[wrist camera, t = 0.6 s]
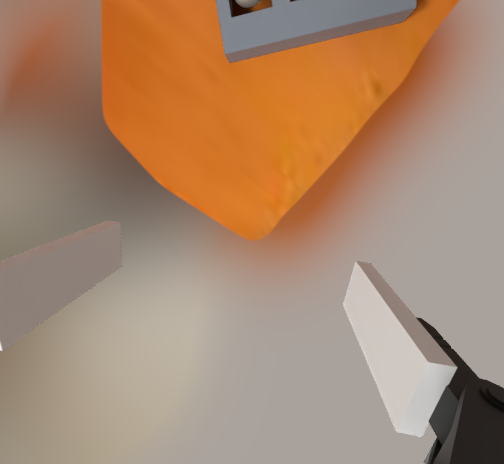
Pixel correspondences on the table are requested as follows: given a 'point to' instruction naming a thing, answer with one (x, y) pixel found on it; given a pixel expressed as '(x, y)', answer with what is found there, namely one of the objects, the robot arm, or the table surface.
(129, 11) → the table surface
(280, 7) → the grey egg holder
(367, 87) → the table surface
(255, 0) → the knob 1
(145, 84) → the table surface
